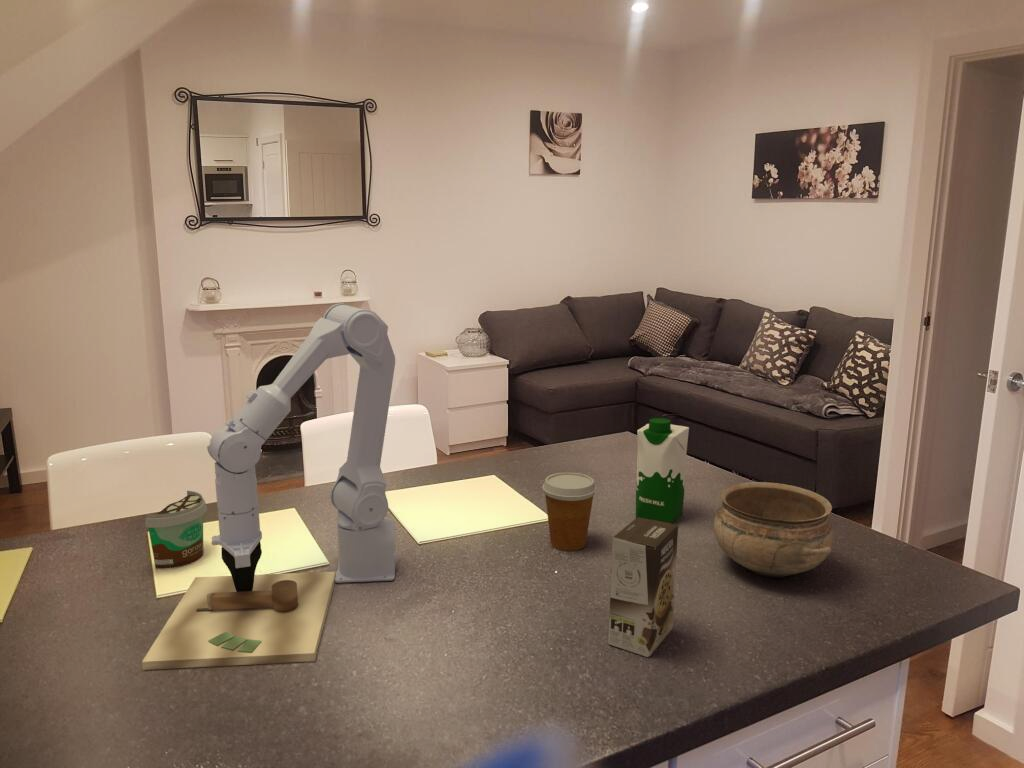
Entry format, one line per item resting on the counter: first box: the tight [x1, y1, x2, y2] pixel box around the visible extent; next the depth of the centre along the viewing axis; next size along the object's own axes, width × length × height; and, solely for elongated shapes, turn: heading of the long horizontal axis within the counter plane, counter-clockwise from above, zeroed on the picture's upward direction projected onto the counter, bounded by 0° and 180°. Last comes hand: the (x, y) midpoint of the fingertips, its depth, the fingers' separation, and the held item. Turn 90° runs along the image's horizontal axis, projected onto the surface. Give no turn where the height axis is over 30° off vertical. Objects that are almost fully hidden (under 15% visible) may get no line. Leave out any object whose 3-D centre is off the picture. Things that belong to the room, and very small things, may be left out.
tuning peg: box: [207, 580, 298, 612], centre depth 116 cm, size 13×4×3 cm, turn 96°
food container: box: [144, 490, 208, 570], centre depth 134 cm, size 12×6×10 cm, turn 168°
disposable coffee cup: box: [541, 472, 597, 552], centre depth 141 cm, size 10×10×12 cm
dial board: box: [141, 571, 337, 671], centre depth 115 cm, size 22×24×1 cm
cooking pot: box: [713, 481, 835, 578], centre depth 131 cm, size 25×19×12 cm
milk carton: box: [635, 417, 690, 524], centre depth 152 cm, size 9×9×20 cm
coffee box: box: [607, 517, 679, 658], centre depth 110 cm, size 9×6×16 cm
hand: (244, 591), depth 120 cm, fingers closed
